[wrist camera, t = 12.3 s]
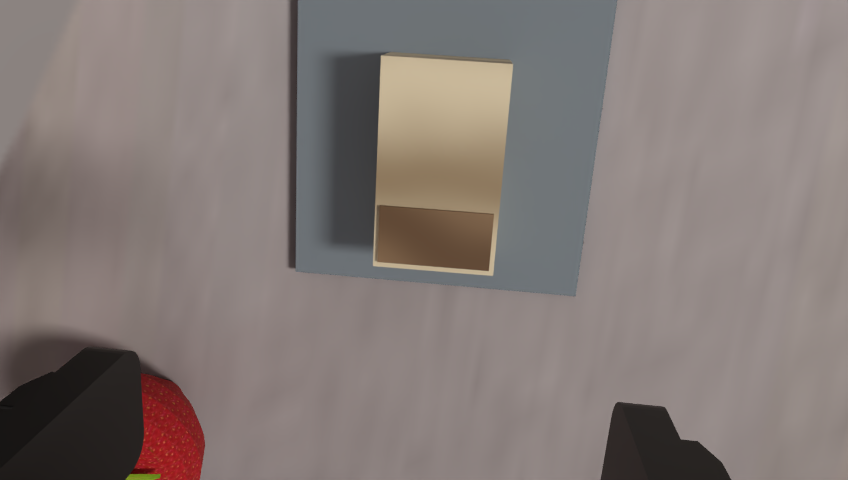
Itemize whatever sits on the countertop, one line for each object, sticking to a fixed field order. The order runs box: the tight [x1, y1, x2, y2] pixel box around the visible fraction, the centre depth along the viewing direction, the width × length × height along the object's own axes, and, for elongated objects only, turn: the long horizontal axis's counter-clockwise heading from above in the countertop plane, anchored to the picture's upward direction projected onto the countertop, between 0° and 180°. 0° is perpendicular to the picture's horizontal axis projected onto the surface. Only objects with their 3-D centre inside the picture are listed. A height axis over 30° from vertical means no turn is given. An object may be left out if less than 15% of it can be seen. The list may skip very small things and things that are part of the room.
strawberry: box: [126, 373, 205, 480], centre depth 31 cm, size 6×8×10 cm
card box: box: [373, 52, 513, 276], centre depth 29 cm, size 8×5×3 cm, turn 177°
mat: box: [296, 0, 617, 296], centre depth 29 cm, size 13×20×1 cm, turn 176°
